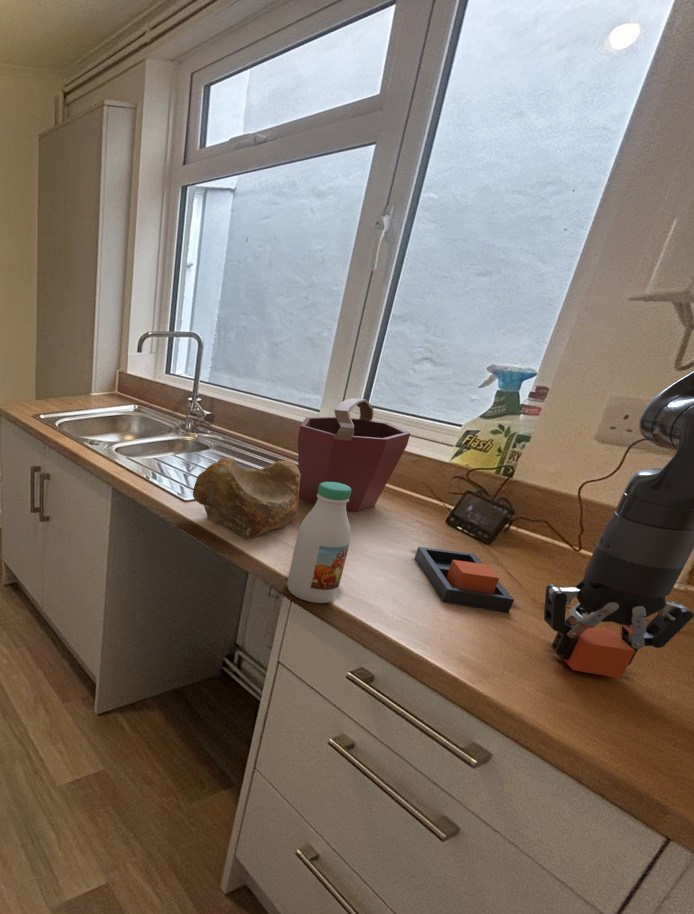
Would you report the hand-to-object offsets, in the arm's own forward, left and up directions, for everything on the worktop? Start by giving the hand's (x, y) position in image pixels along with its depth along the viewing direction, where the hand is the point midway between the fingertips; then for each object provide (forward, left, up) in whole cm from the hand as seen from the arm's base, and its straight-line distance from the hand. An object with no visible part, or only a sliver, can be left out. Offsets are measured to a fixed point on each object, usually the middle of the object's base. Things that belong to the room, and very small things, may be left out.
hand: (587, 660), depth 73 cm
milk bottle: (+33, -9, -2) cm, 34 cm away
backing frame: (+8, -22, -1) cm, 23 cm away
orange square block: (+8, -18, -1) cm, 20 cm away
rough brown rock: (+43, -34, -2) cm, 55 cm away
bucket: (+23, -61, -2) cm, 65 cm away
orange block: (0, 0, 0) cm, 0 cm away
